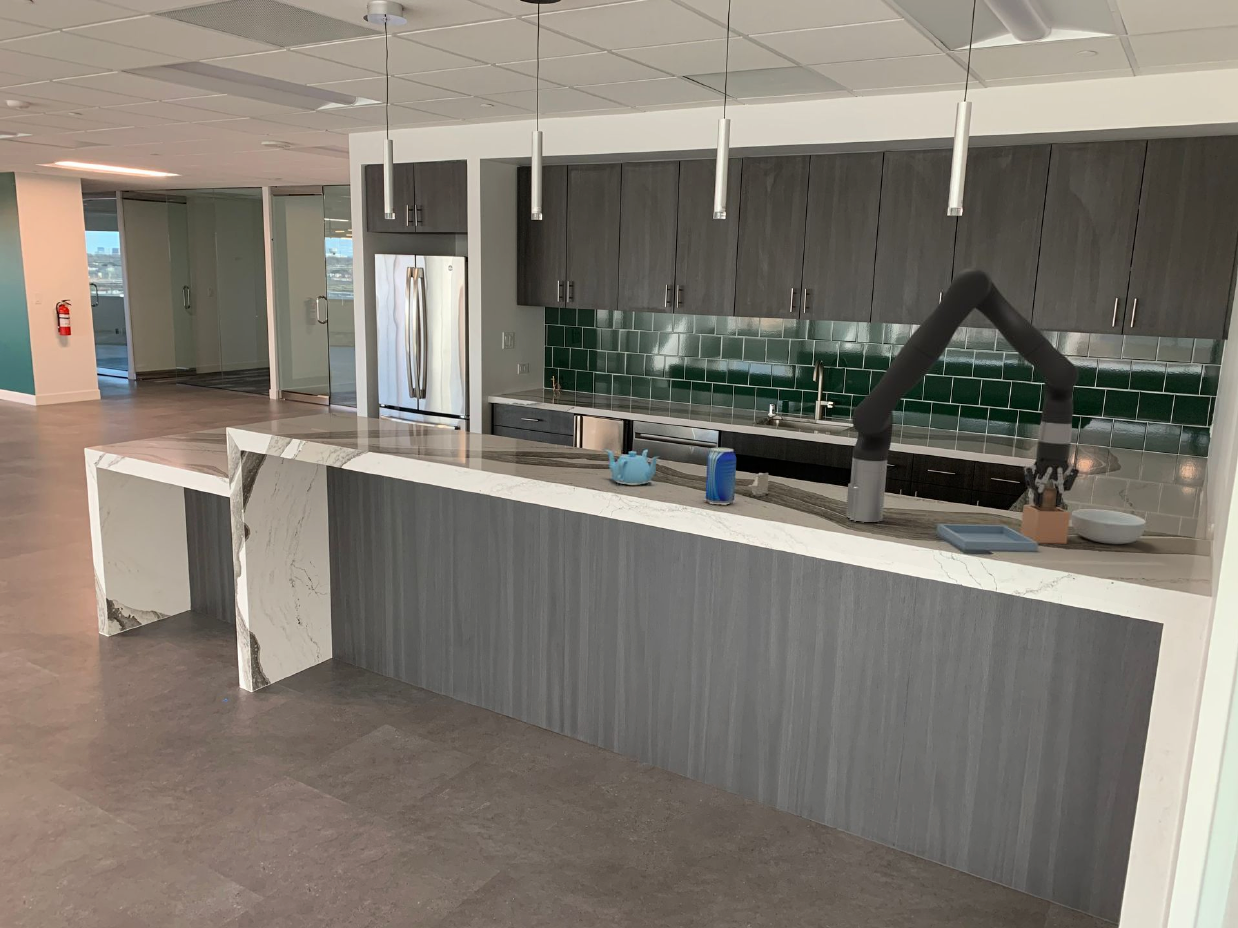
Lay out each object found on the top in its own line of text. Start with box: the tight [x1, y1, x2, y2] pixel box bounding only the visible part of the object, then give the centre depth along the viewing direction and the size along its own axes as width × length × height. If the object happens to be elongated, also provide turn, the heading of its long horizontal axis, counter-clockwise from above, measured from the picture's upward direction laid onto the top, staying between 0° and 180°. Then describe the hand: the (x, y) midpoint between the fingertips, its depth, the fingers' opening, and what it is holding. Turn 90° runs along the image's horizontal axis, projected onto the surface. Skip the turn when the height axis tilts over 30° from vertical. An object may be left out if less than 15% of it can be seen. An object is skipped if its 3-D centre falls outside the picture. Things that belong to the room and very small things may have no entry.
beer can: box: [705, 447, 737, 504], centre depth 272 cm, size 8×8×16 cm
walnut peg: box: [1038, 486, 1057, 511], centre depth 237 cm, size 4×4×13 cm
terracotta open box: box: [1020, 504, 1071, 545], centre depth 238 cm, size 8×8×9 cm
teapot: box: [605, 448, 661, 483], centre depth 299 cm, size 15×15×10 cm
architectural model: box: [748, 472, 770, 494], centre depth 286 cm, size 3×7×7 cm, turn 138°
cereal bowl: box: [1070, 508, 1146, 545], centre depth 240 cm, size 17×17×7 cm
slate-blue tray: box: [935, 523, 1039, 555], centre depth 234 cm, size 18×18×3 cm
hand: (1046, 506), depth 237 cm, fingers closed on walnut peg, 4 cm apart
